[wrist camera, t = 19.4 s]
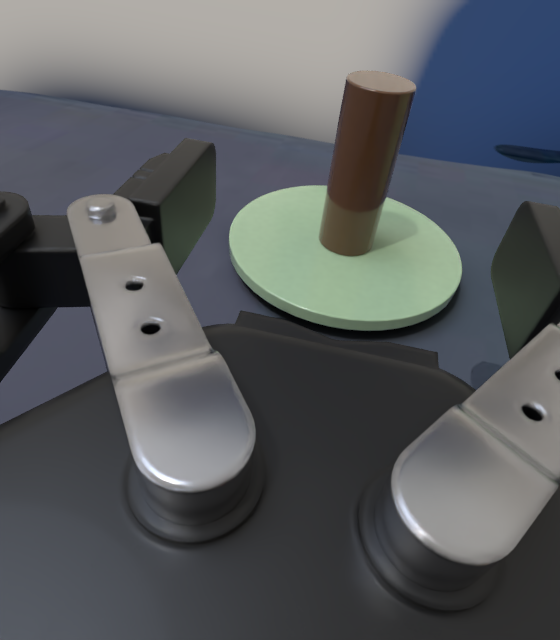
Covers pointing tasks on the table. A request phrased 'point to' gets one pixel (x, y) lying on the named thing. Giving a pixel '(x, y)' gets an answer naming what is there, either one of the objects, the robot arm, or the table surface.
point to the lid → (350, 228)
